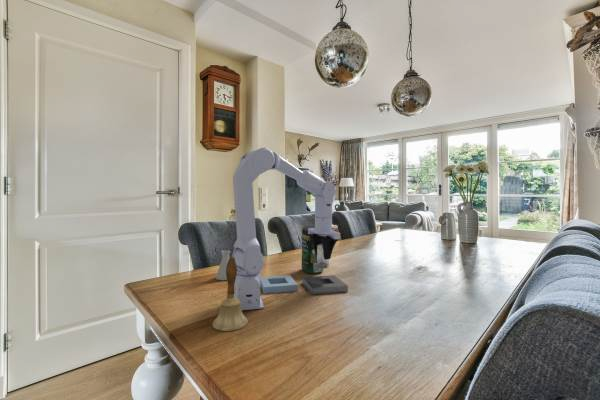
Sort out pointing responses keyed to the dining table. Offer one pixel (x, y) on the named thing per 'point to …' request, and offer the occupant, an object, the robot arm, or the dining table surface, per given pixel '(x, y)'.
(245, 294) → the robot arm
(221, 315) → the hand bell
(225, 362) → the dining table surface
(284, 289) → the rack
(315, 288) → the socket block
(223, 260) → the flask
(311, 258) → the coffee jar
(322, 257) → the steel peg
